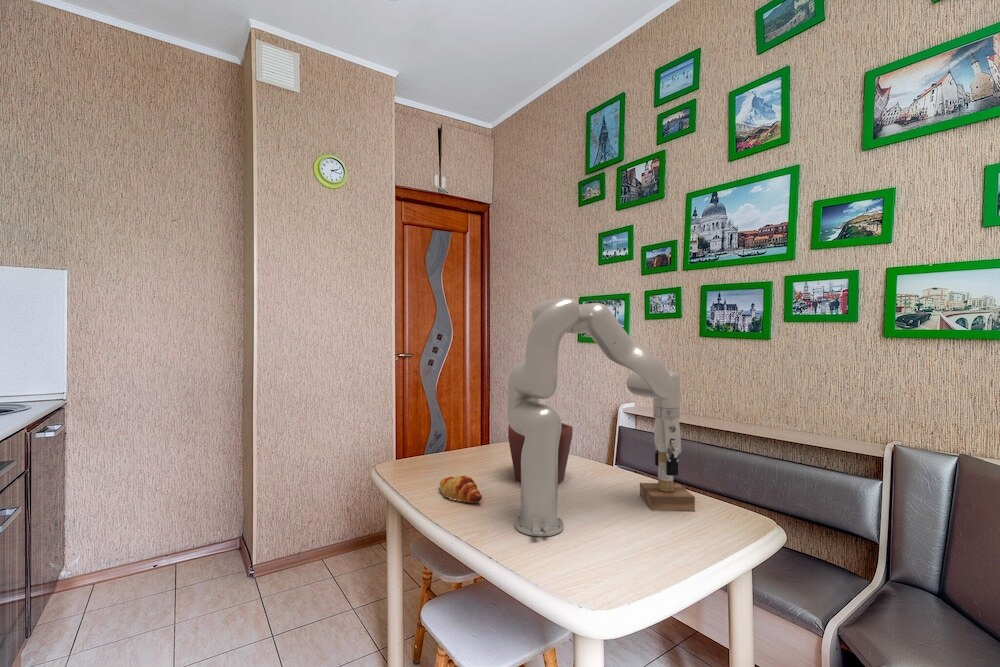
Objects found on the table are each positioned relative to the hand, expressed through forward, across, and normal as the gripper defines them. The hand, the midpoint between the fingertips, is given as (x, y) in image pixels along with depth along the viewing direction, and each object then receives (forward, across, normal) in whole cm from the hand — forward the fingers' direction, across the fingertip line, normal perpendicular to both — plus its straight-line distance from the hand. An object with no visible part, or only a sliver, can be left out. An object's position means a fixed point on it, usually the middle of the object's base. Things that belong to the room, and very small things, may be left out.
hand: (666, 470), depth 132 cm
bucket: (+10, +21, +36) cm, 43 cm away
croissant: (+10, +4, +62) cm, 63 cm away
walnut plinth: (+10, 0, 0) cm, 10 cm away
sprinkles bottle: (+6, 0, 0) cm, 6 cm away
